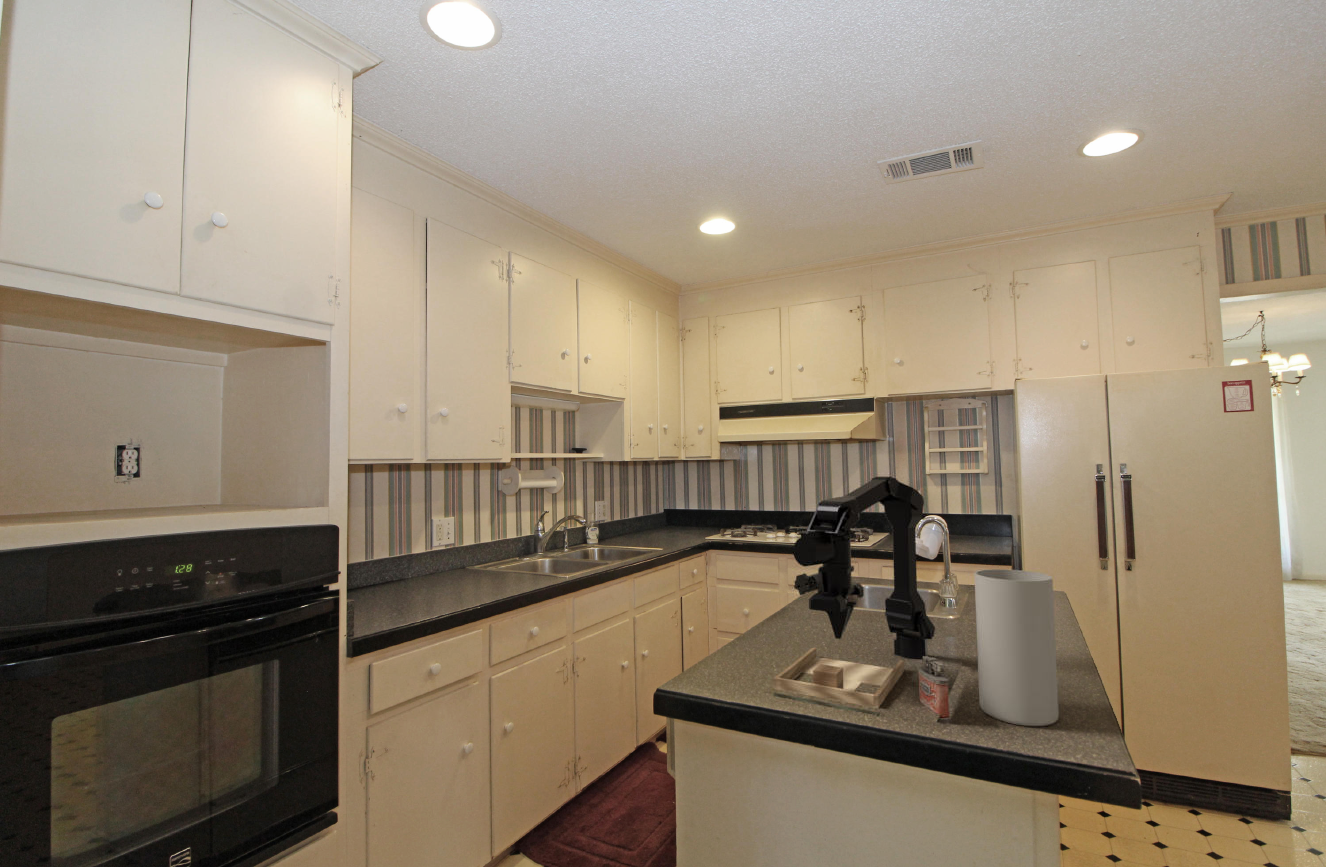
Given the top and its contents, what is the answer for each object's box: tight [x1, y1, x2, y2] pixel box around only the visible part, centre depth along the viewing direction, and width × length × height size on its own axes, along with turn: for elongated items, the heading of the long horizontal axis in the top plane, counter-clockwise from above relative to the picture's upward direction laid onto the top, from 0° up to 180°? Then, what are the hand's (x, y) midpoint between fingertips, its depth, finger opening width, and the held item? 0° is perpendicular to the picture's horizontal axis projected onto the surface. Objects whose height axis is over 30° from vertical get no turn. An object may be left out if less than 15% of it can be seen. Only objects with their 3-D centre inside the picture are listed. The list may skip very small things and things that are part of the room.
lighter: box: [917, 655, 952, 725], centre depth 113 cm, size 8×3×10 cm, turn 5°
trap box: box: [773, 647, 905, 717], centre depth 128 cm, size 20×24×4 cm
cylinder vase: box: [974, 568, 1060, 727], centre depth 114 cm, size 12×12×25 cm
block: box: [812, 664, 844, 689], centre depth 121 cm, size 4×4×4 cm
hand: (838, 638), depth 127 cm, fingers closed
